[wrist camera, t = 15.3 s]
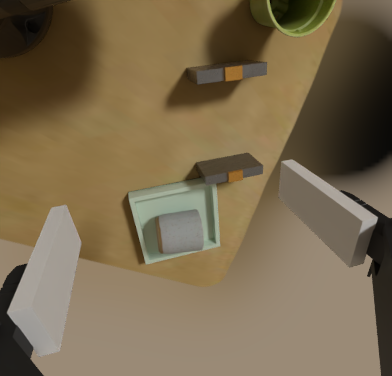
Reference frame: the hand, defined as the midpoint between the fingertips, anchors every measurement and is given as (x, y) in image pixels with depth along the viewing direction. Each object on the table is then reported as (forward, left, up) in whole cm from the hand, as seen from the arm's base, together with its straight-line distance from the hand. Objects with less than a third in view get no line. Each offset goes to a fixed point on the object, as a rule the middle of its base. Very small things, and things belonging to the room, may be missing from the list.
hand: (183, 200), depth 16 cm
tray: (+2, -22, -29) cm, 36 cm away
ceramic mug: (+2, -24, -28) cm, 37 cm away
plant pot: (+20, +12, -29) cm, 37 cm away
